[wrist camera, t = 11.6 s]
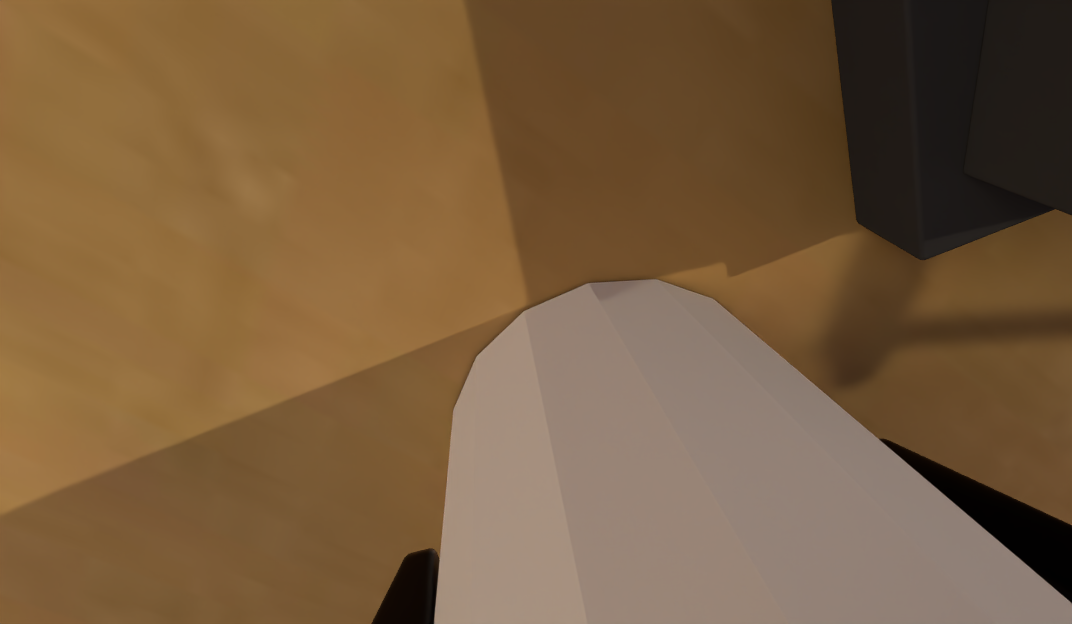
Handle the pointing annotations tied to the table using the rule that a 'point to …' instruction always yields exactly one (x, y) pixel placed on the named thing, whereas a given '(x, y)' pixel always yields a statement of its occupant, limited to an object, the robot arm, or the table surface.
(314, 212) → the table surface
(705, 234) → the table surface
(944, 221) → the base pad
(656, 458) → the shot glass
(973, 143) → the black pad
